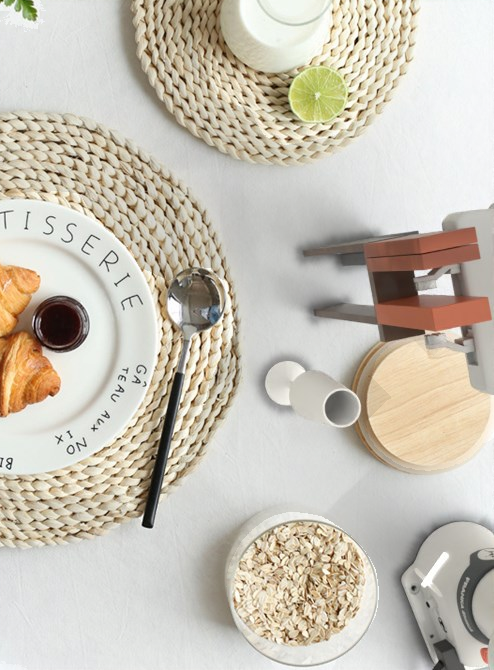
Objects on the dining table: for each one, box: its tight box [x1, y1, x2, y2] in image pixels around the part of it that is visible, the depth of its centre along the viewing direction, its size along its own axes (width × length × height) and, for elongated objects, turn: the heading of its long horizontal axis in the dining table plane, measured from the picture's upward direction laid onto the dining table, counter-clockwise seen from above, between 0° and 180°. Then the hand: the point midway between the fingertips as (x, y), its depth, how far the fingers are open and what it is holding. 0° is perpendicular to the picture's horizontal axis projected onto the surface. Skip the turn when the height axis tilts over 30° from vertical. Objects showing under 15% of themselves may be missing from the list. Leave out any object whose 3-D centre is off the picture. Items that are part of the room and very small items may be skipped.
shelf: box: [363, 227, 481, 343], centre depth 91 cm, size 12×6×16 cm, turn 11°
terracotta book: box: [375, 294, 492, 333], centre depth 90 cm, size 2×6×15 cm, turn 101°
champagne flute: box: [264, 360, 362, 428], centre depth 111 cm, size 7×7×24 cm
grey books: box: [339, 230, 420, 267], centre depth 116 cm, size 3×6×15 cm, turn 101°
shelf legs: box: [302, 236, 397, 326], centre depth 111 cm, size 10×5×24 cm, turn 11°
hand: (421, 313), depth 90 cm, fingers open, 5 cm apart
